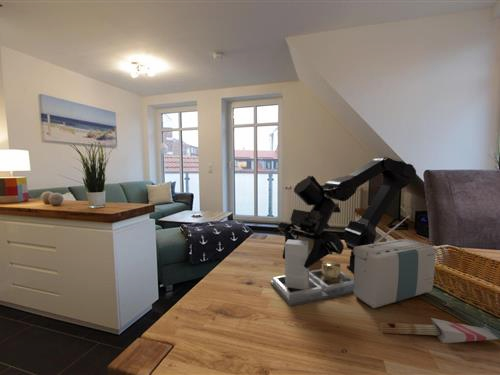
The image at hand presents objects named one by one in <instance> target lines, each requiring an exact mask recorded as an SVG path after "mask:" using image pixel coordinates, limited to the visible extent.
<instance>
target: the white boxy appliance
mask: <svg viewBox="0 0 500 375" xmlns="http://www.w3.org/2000/svg"><path fill="white" fill-rule="evenodd" d="M410 217H411V216H410V215H407V216H406V218H404V219H403V220H401V221H400V222H398V223H397V224H396V225H395V226H393V227H392V228H391V229H389V230H388V231H387V232H386V233H385V234H383V235H382V236H381V237H379V238H378V239H377V240H376V241H374V242H375V243H374V244H369V245H363V246H357V247H354V249H353V250H352V251H354V255H355V267H354V272H353V273H354V274H353V279H354V293H353V294H354V295H355V296H356V297H357V298H359V300H361V301H362V302H363V303H365V304H367V305H368V306H370V307H371V308H372V309H376V308H379V307H383V306H387V305H389V304H393V303H396V302H400V301H403V300H406V299H410V298H413V297H416V296H420V295H422V294H426V293H429V292H431V291H432V289H433V286H434V281H435V280H434V278H435V270H436V269H435V267H436V249H435V247H434V246H433V245H430V244H427V243H424V242H420V241H418V240H417V241H416V240H413V239H410V238H400V239H394V240H389V241H388V240H387V241H382V240H383V239H384V238H386V237H387V236H388V235H389V234H390V233H392V232H393V231H394V230H395V229H397V228H398V227H399V226H400V225H401V224H402V223H403V222H405V221H406V219H408V218H410ZM380 241H382V242H380Z"/></svg>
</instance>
